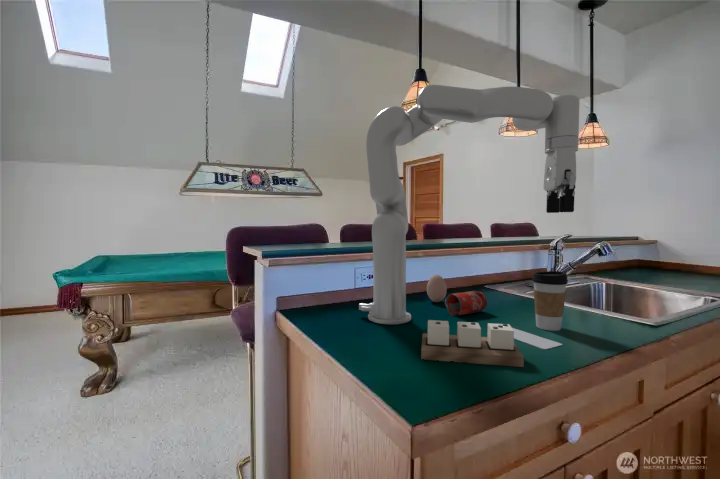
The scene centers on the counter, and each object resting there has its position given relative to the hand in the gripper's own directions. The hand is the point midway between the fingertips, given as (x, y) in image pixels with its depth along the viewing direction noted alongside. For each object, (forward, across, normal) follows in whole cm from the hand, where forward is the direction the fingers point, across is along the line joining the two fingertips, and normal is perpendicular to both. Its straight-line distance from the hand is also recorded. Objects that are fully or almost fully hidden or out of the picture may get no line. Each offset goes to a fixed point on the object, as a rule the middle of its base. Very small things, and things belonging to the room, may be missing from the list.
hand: (559, 212), depth 93 cm
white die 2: (+29, +22, -25) cm, 44 cm away
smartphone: (+32, +10, -10) cm, 34 cm away
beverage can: (+31, -12, -22) cm, 40 cm away
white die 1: (+29, +22, -31) cm, 48 cm away
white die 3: (+29, +22, -18) cm, 41 cm away
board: (+31, +22, -25) cm, 46 cm away
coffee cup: (+31, 0, -2) cm, 31 cm away
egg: (+31, -24, -31) cm, 50 cm away
